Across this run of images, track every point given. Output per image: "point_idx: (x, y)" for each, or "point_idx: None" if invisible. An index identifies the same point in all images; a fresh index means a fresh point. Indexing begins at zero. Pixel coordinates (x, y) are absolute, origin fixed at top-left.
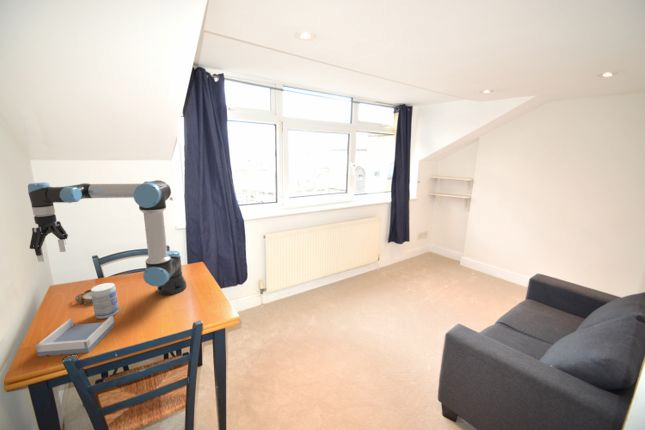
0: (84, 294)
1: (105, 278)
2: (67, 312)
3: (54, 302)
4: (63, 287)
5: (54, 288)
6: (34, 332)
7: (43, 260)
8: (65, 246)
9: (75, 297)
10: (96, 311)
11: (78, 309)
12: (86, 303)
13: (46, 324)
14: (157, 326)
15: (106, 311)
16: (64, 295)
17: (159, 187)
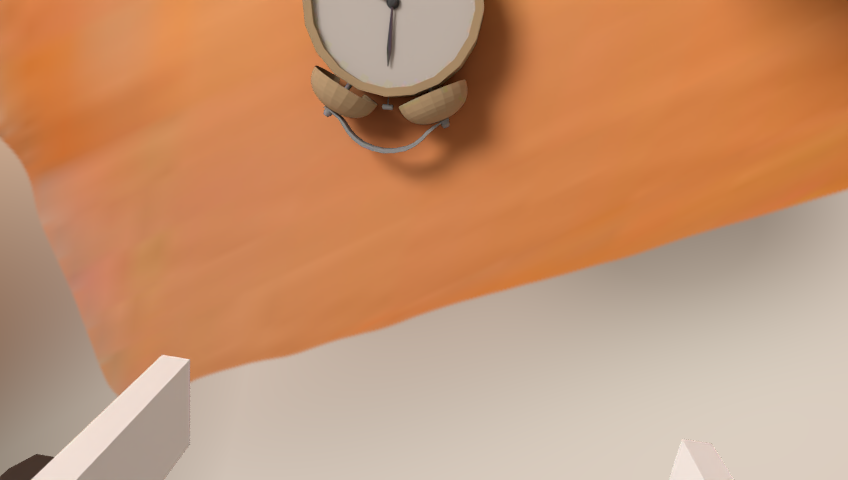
0: (389, 91)
1: (11, 117)
2: (561, 127)
3: (377, 286)
4: (150, 341)
5: None
6: (782, 198)
7: (714, 468)
8: (111, 419)
9: (406, 148)
10: None
11: (536, 71)
12: (474, 44)
13: (697, 179)
14: None
15: None
16: (280, 275)
17: None
